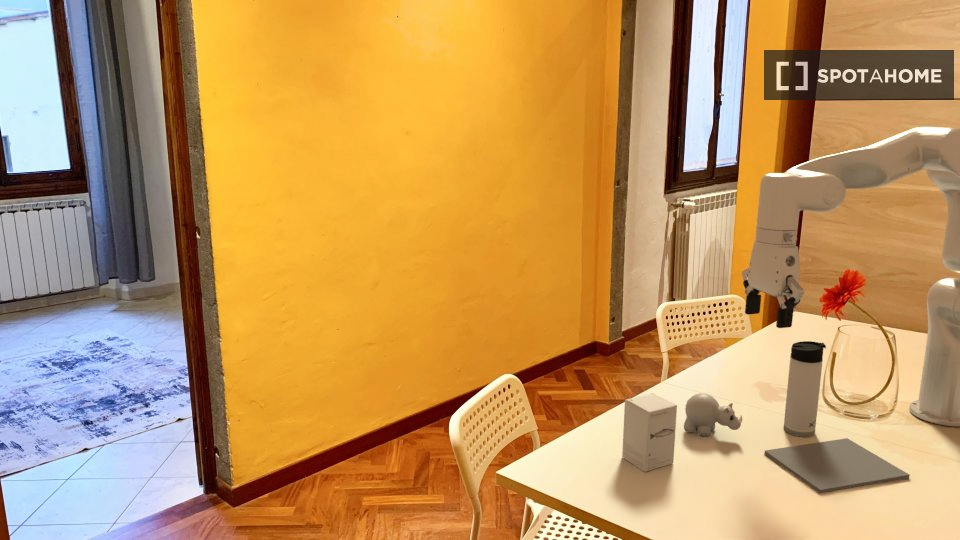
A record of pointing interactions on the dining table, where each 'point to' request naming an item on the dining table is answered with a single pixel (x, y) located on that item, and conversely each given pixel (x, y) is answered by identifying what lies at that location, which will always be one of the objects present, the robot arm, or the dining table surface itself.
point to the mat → (835, 465)
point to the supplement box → (649, 431)
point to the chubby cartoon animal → (708, 415)
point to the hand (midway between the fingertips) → (767, 320)
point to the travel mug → (803, 388)
